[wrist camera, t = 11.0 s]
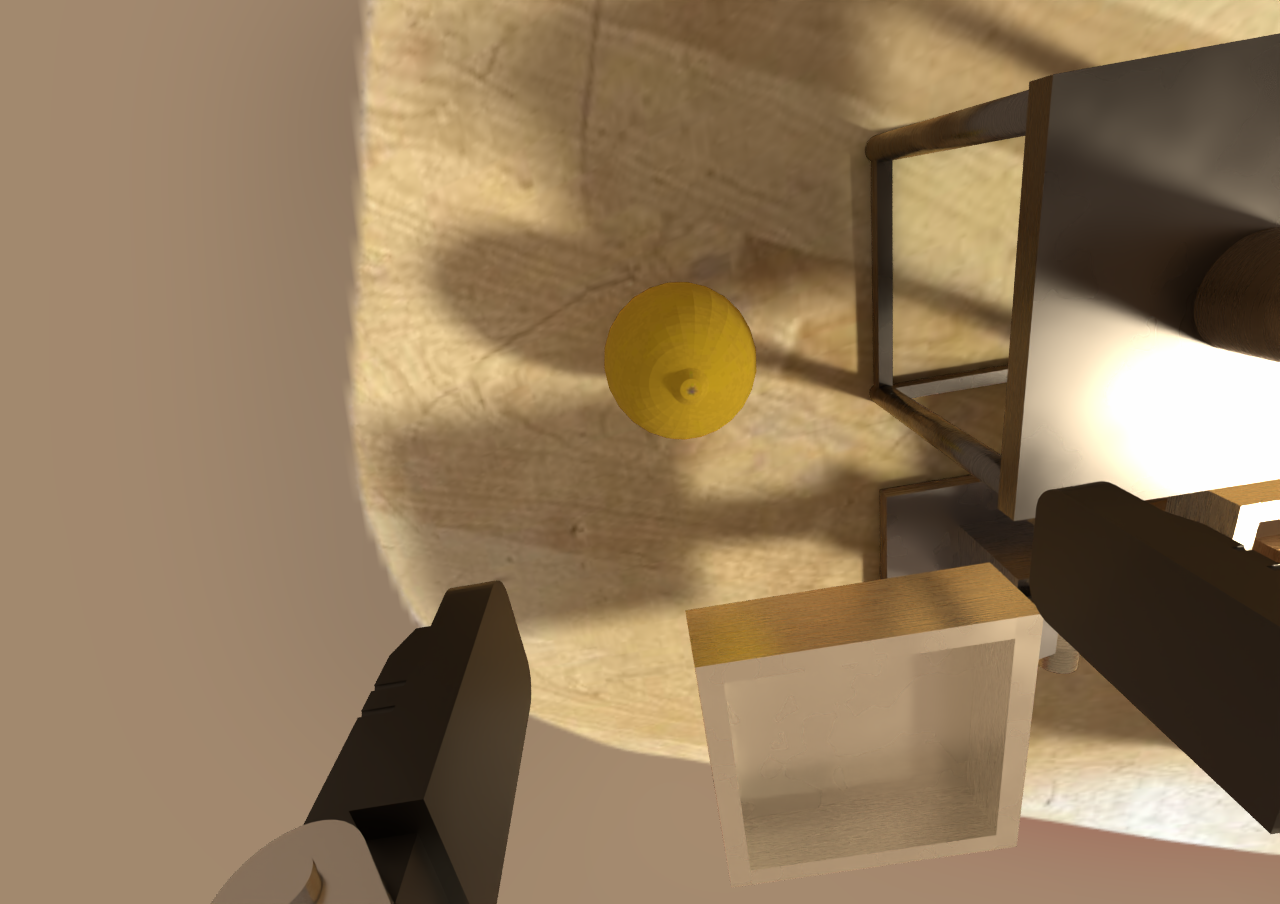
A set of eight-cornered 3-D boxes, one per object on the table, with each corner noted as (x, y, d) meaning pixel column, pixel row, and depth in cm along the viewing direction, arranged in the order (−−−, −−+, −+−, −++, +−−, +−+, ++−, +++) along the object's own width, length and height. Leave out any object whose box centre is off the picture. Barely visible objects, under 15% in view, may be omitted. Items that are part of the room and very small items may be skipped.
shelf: (666, 500, 29) (695, 667, 18) (1312, 394, 28) (1735, 505, 17) (694, 670, 33) (731, 887, 22) (1259, 582, 32) (1576, 765, 21)
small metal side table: (862, 134, 23) (1384, -30, 7) (1155, 81, 23) (2352, -207, 7) (867, 407, 27) (1204, 669, 12) (1114, 365, 27) (1803, 579, 11)
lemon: (605, 398, 26) (600, 470, 19) (607, 269, 24) (603, 295, 17) (727, 401, 27) (769, 474, 19) (739, 274, 25) (792, 301, 17)
